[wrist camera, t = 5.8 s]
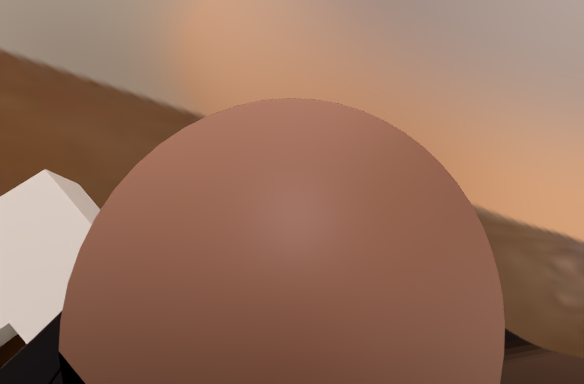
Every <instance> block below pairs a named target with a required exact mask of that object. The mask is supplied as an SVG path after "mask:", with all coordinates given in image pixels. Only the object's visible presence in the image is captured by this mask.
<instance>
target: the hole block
mask: <svg viewBox="0 0 584 384" xmlns="http://www.w3.org/2000/svg"><path fill="white" fill-rule="evenodd" d="M99 212H100V209H99V208H98V206H97V205H96V204H95V203H94V202H93V201H92V199H91V198H90V197H89V196H88V195H87V193H86V192H85V191H84V190H83V189H82V187H81V186H80V185H79V184H77V183H75V182H73V181H70V180H68V179H66V178H64V177H61V176H59V175H57V174H55V173H52V172H50V171H48V170H46V169H45V170H43V171H41V172H40V173H38V174H37V175H35V176H33V177H32V178H30V179H28V180H27V181H25V182H24V183H22V184H20V185H19V186H17V187H15V188H14V189H12V190H11V191H9V192H7V193H6V194H4V195H2V196H1V197H0V347H1V346H2V345H4V344H5V343H6V342H8V341H9V340H10V339H12V338H13V337H14V336H16V335H17V334H19V335H20V337H21V338H22V339H23V340H24V341H25V343H26V344H28V343H29V342H30V341H31V340H32V339H33V338H34V337H35V336H36V335H37V334H38V333H39V332H40V331H41V330H42V329H43V328H44V327H45V326H47V325H48V324H49V323H50V322H51V321H52V320H53V319H54V318H55V317H56V316H57V315H58V314H59V313H60V312H61V311H62V310H63V305H64V300H65V295H66V290H67V285H68V281H69V278H70V276H71V273H72V270H73V267H74V264H75V261H76V258H77V255H78V252H79V249H80V247H81V245H82V243H83V241H84V239H85V237H86V235H87V233H88V231H89V229H90V227H91V225H92V223H93V221H94V219H95V218H96V216H97V215H98V213H99Z"/></svg>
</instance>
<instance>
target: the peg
mask: <svg viewBox="0 0 584 384" xmlns="http://www.w3.org/2000/svg"><path fill="white" fill-rule="evenodd" d="M504 340H505V321H504V307H503V297H502V291H501V285H500V280H499V274H498V270H497V267H496V263H495V260H494V256H493V252H492V249H491V246H490V244H489V241H488V239H487V236H486V234H485V231H484V229H483V226H482V224H481V222H480V220H479V218H478V216H477V214H476V213H475V211H474V209H473V207H472V205H471V203H470V201H469V200H468V199H467V197H466V196H465V194H464V192H463V191H462V190H461V188H460V187H459V185H458V184H457V182H456V181H455V180H454V179H453V177H452V176H451V175H450V174H449V173H448V171H447V170H446V169H445V168H444V167H443V165H442V164H441V163H440V162H439V161H438V160H437V159H435V158H434V157H433V156H432V155H431V154H430V153H429V152H428V151H427V150H426V149H425V148H424V147H423V146H422V145H420V144H419V143H418V142H416V141H415V140H414V139H412V138H411V137H410V136H408V135H407V134H406V133H404V132H403V131H401V130H399V129H398V128H396V127H394V126H393V125H391V124H389V123H387V122H386V121H384V120H382V119H380V118H377V117H375V116H373V115H371V114H368V113H366V112H364V111H361V110H358V109H355V108H351V107H348V106H345V105H342V104H338V103H332V102H326V101H321V100H314V99H296V98H285V99H273V100H262V101H257V102H252V103H248V104H243V105H238V106H234V107H232V108H229V109H226V110H223V111H220V112H217V113H214V114H211V115H209V116H207V117H205V118H203V119H201V120H199V121H197V122H195V123H193V124H191V125H189V126H187V127H185V128H183V129H182V130H180V131H179V132H177V133H176V134H174V135H173V136H171V137H170V138H168V139H167V140H166V141H164V142H163V143H161V144H160V145H158V146H157V147H156V148H155V149H154V150H153V151H152V152H150V153H149V154H148V155H147V156H146V157H145V158H144V159H142V160H141V161H140V162H139V163H138V164H137V165H136V166H135V167H134V168H133V169H132V170H131V171H130V172H129V174H128V175H127V176H126V177H125V178H124V179H123V180H122V182H121V183H120V184H119V185H118V186H117V187H116V188H115V189H114V191H113V192H112V194H111V195H110V197H109V198H108V200H107V201H106V203H105V204H104V206H103V207H102V209H101V210H100V212H99V213H98V215H97V216H96V218H95V219H94V221H93V223H92V225H91V227H90V229H89V231H88V233H87V235H86V237H85V239H84V241H83V243H82V245H81V247H80V249H79V252H78V255H77V258H76V261H75V264H74V267H73V270H72V273H71V276H70V278H69V281H68V285H67V290H66V295H65V300H64V305H63V310H62V315H61V320H60V336H59V362H60V368H61V374H62V380H63V384H500V381H501V373H502V366H503V358H504Z"/></svg>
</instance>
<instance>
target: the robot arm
mask: <svg viewBox="0 0 584 384" xmlns="http://www.w3.org/2000/svg"><path fill="white" fill-rule="evenodd" d="M61 315H62V311H61V312H60V313H59V314H58V315H57V316H56V317H55V318H54V319H53V320H52V321H51V322H50V323H49V324H48V325H47V326H45V327H44V328H43V329H42V330H41V331H40V332H39V333H38V334H37V335H36V336H35V337H34V338H33V339H32V340H31V341H30V342H29V343H28V344H26V345H25V346H24V347H23V348H22V349H21V350H20V351H19V352H17V353H16V354H15V355H14V356H13V357H12V358H11V359H10V360H8V361H7V362H6V363H5V364H4V365H3V366H2V367H1V368H0V384H63V380H62V374H61V368H60V362H59V336H60V320H61ZM500 384H584V358H582V357H577V356H572V355H568V354H563V353H559V352H555V351H551V350H548V349H545V348H542V347H540V346H537V345H535V344H532V343H530V342H528V341H526V340H524V339H522V338H521V337H519V336H517V335H515V334H514V333H512V332H510V331H509V330H507V329H506V328H505V340H504V358H503V366H502V373H501V381H500Z"/></svg>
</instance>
